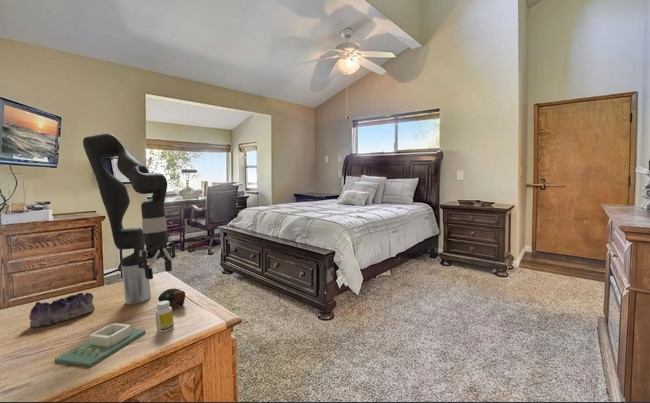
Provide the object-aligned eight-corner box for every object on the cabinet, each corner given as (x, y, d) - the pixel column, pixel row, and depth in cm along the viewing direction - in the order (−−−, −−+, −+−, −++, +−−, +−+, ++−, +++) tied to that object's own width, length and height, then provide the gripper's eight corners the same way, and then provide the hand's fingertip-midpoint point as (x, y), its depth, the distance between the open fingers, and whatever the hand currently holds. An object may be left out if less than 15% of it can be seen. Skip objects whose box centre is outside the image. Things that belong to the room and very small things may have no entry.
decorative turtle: (178, 313, 126) (175, 294, 125) (151, 312, 131) (147, 294, 130) (195, 302, 135) (192, 285, 134) (169, 301, 140) (166, 284, 139)
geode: (35, 333, 115) (29, 307, 115) (28, 329, 122) (22, 304, 122) (99, 310, 131) (94, 287, 131) (89, 308, 138) (84, 286, 138)
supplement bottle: (177, 326, 115) (174, 300, 114) (165, 333, 110) (162, 306, 109) (165, 324, 117) (163, 299, 116) (153, 331, 112) (150, 305, 111)
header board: (114, 329, 115) (113, 319, 114) (145, 332, 111) (144, 322, 110) (55, 361, 95) (53, 349, 95) (89, 367, 92) (88, 354, 91)
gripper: (162, 226, 118) (166, 268, 119) (128, 234, 104) (133, 281, 106) (178, 226, 116) (182, 269, 117) (146, 234, 102) (151, 282, 103)
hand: (159, 274), depth 111 cm, fingers open, 8 cm apart
